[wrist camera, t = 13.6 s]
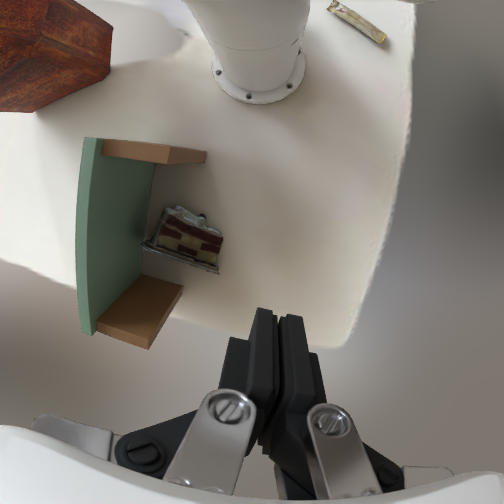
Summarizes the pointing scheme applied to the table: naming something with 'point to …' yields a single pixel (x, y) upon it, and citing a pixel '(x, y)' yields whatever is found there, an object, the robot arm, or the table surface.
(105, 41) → the handbag
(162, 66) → the table surface
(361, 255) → the table surface
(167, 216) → the chocolate cake
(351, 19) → the snack bar
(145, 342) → the cubby shelf
